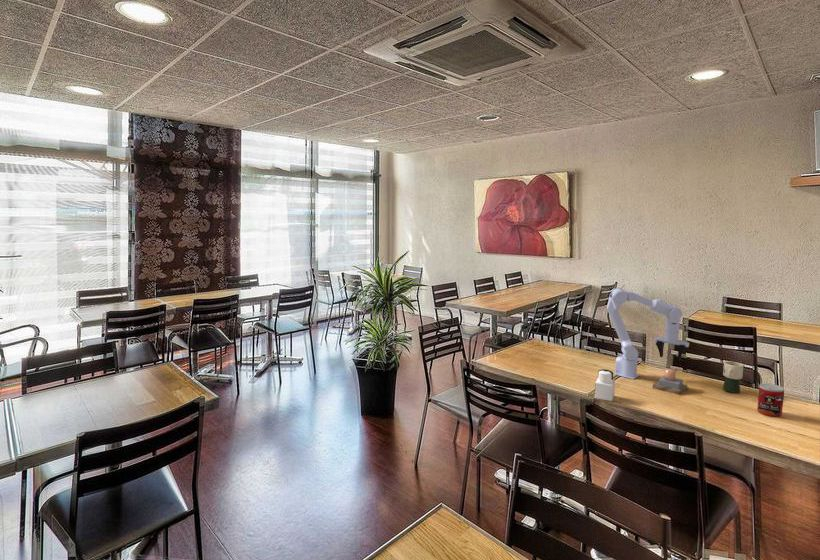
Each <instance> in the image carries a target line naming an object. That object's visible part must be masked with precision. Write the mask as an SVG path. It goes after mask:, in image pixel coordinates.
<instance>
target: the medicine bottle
mask: <svg viewBox="0 0 820 560" xmlns="http://www.w3.org/2000/svg"><path fill="white" fill-rule="evenodd" d="M594 384H595V385H594V387H595V388H594V399H598V400H604V401H607V402H608V401H609V402H612V401H613V400H614V397H615V391H616V390H615V389H616V388H615V387H616V381H615V380H614V372H613V371H612V370H610V369H605V368H604V369H603V368H602V369H599V370H598V371H597V379H596V381H595V383H594Z"/></svg>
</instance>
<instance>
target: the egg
mask: <svg viewBox="0 0 820 560" xmlns="http://www.w3.org/2000/svg"><path fill="white" fill-rule="evenodd" d="M676 375H677V370H676V369H674V368H665V369H664V374H663V376H664V379H665V380H667V381H675V378H676Z"/></svg>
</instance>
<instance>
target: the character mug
mask: <svg viewBox="0 0 820 560" xmlns="http://www.w3.org/2000/svg"><path fill="white" fill-rule="evenodd" d="M722 369H723V371H722V375H723V376H724V377H725V378H724V381H723V385H722V386H723V387H722V390H723V391H725V392H729V393H741V382H740V380H741V379H743V377H744V376H743V373H744V364H743V363H741V362H736V361H732V360H729V361H728V360H726V361H724V362H723V368H722Z"/></svg>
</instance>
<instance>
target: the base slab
mask: <svg viewBox="0 0 820 560" xmlns="http://www.w3.org/2000/svg"><path fill="white" fill-rule="evenodd" d="M688 387H689V386H688V384H684V383H683V385H682V386H681V387H680V388H679V390H678V389H674V388H669V387H664V386H660V385H659V380H658V381H656V382H655V383H654V384H652V389H654V390H658V391H662V392H666V393H670V394H673V393H674V395H678V396H680V395H681V394H682V393H684V392H686V390H688Z"/></svg>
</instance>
